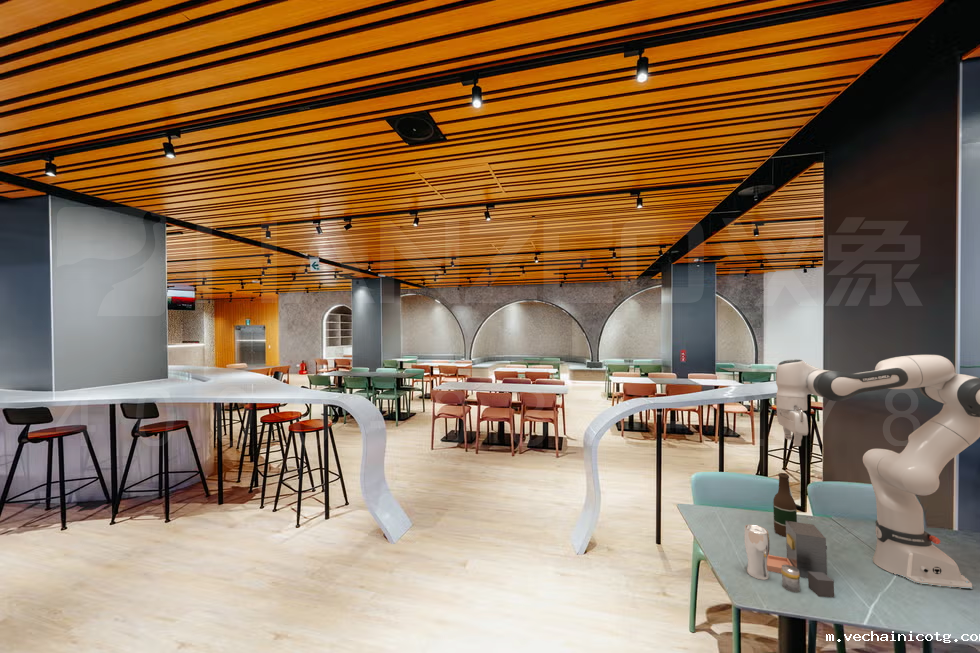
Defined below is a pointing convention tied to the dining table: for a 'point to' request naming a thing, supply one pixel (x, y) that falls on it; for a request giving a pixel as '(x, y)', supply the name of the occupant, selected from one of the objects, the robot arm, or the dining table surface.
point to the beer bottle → (783, 506)
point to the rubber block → (821, 584)
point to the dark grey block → (806, 548)
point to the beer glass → (757, 551)
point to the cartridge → (790, 578)
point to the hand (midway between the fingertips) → (792, 442)
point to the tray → (777, 563)
